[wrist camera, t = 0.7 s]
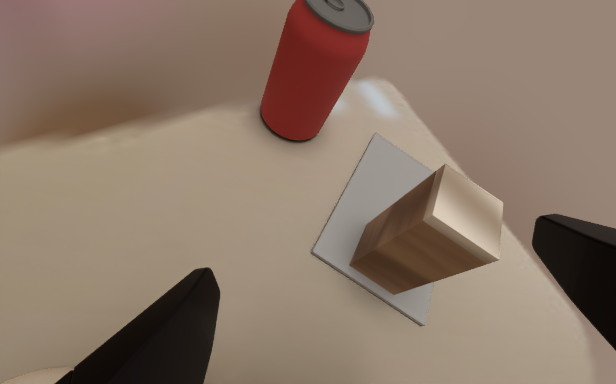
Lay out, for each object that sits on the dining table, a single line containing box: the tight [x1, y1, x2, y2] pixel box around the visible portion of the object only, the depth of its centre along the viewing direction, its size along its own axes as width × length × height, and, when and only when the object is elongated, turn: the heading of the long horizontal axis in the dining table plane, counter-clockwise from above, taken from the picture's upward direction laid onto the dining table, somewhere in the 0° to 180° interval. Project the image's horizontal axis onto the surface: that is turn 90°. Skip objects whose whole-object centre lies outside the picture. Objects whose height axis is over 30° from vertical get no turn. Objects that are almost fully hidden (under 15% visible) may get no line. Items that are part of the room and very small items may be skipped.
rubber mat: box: [311, 133, 434, 326], centre depth 29 cm, size 17×11×1 cm, turn 153°
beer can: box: [260, 0, 374, 140], centre depth 26 cm, size 7×7×12 cm
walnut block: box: [349, 164, 503, 295], centre depth 22 cm, size 4×4×10 cm
